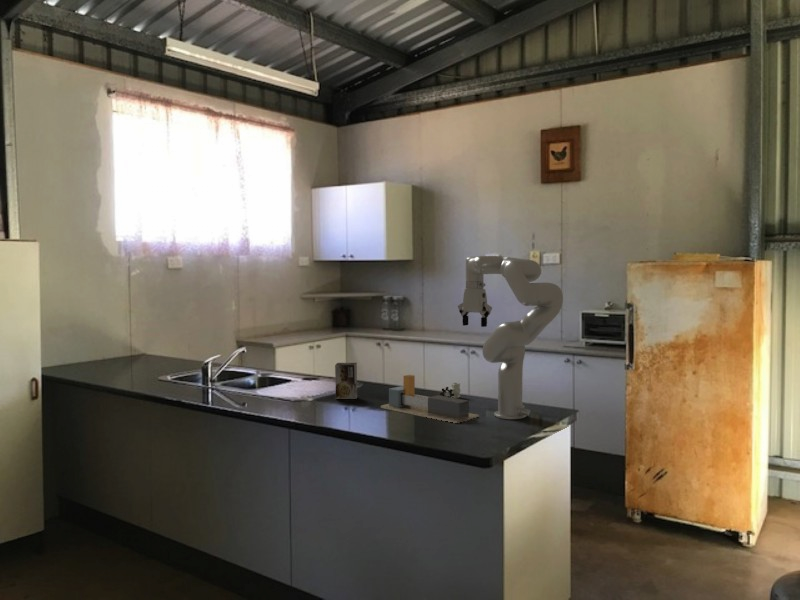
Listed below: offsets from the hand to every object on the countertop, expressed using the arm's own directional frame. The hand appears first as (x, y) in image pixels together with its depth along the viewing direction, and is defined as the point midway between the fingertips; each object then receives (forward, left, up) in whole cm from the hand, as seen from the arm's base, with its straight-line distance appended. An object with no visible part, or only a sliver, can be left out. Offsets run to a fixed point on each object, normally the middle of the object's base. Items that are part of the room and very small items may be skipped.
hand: (474, 325), depth 273 cm
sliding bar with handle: (+12, +23, -32) cm, 41 cm away
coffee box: (+52, +27, -34) cm, 68 cm away
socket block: (+22, +23, -33) cm, 46 cm away
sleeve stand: (+6, +23, -34) cm, 42 cm away
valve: (+15, -4, -35) cm, 38 cm away
